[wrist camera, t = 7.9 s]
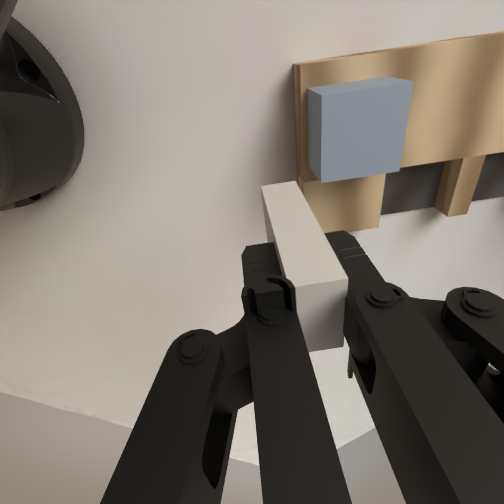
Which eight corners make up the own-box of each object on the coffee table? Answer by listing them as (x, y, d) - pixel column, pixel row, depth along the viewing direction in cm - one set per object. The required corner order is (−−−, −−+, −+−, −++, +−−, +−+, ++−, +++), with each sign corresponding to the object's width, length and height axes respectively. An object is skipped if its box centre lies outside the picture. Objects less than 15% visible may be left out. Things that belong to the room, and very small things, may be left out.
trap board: (299, 226, 32) (312, 255, 28) (293, 63, 24) (310, 67, 19) (557, 186, 32) (612, 210, 28) (644, 9, 24) (744, 0, 19)
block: (308, 165, 26) (321, 183, 23) (307, 88, 23) (321, 95, 19) (376, 155, 26) (399, 171, 23) (386, 76, 23) (414, 81, 19)
